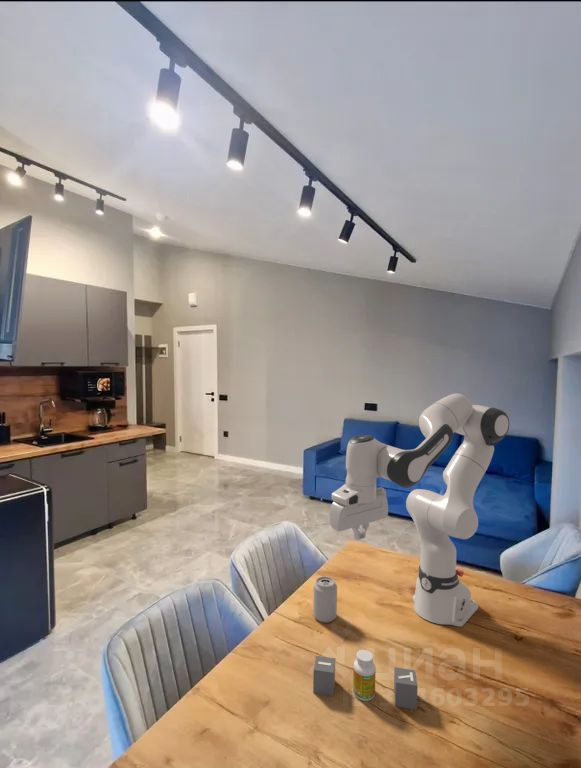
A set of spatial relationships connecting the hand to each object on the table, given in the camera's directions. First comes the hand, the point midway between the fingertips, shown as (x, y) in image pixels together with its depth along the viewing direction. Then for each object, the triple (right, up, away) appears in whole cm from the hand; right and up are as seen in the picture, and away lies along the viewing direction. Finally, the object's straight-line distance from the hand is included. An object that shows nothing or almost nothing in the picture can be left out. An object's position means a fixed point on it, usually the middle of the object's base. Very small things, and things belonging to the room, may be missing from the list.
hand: (359, 538), depth 119 cm
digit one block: (-12, -32, -15) cm, 37 cm away
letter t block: (+8, -32, -19) cm, 38 cm away
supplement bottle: (-2, -32, -17) cm, 37 cm away
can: (-9, -30, +13) cm, 34 cm away
